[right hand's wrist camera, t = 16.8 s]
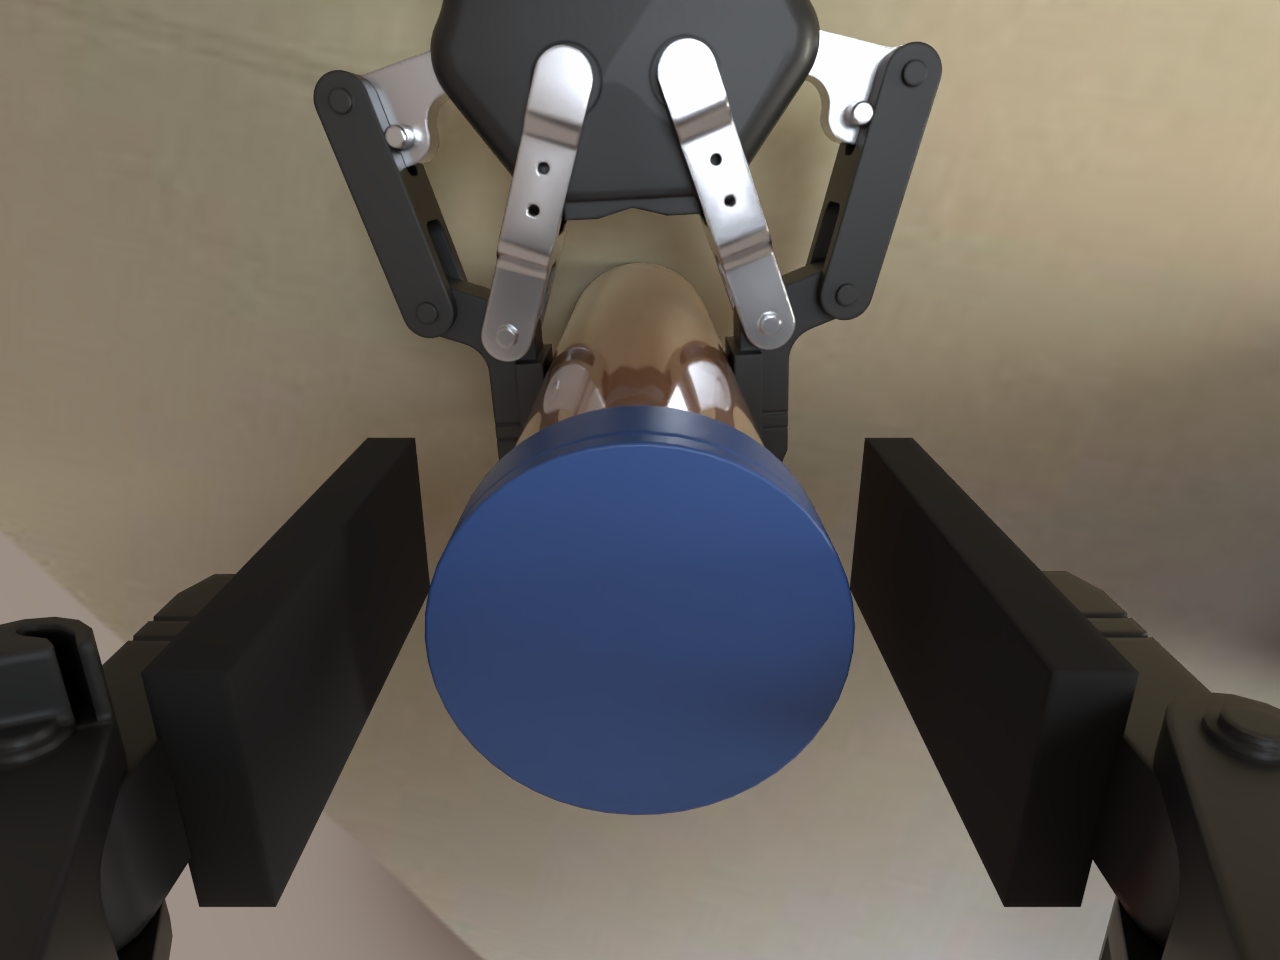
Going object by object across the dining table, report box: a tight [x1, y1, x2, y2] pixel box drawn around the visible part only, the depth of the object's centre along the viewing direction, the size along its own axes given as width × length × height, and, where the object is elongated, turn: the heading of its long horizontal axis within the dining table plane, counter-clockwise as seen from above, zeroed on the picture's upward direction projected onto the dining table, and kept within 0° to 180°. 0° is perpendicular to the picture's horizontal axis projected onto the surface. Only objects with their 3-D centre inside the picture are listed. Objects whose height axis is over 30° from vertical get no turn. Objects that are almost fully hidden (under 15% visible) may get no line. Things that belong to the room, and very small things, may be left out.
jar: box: [514, 263, 766, 448], centre depth 19 cm, size 5×5×18 cm
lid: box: [425, 405, 855, 815], centre depth 11 cm, size 5×5×2 cm
